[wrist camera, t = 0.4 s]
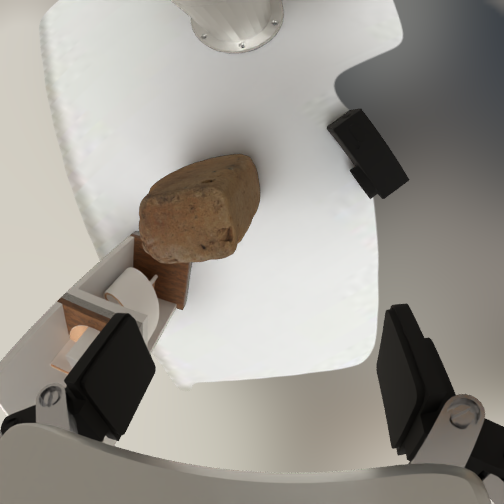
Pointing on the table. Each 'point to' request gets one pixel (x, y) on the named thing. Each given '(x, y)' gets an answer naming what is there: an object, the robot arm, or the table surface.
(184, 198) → the brown rounded lump
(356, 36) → the table surface
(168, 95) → the table surface
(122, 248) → the toilet paper holder
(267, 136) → the table surface
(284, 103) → the table surface
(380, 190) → the digital camera
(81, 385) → the robot arm
